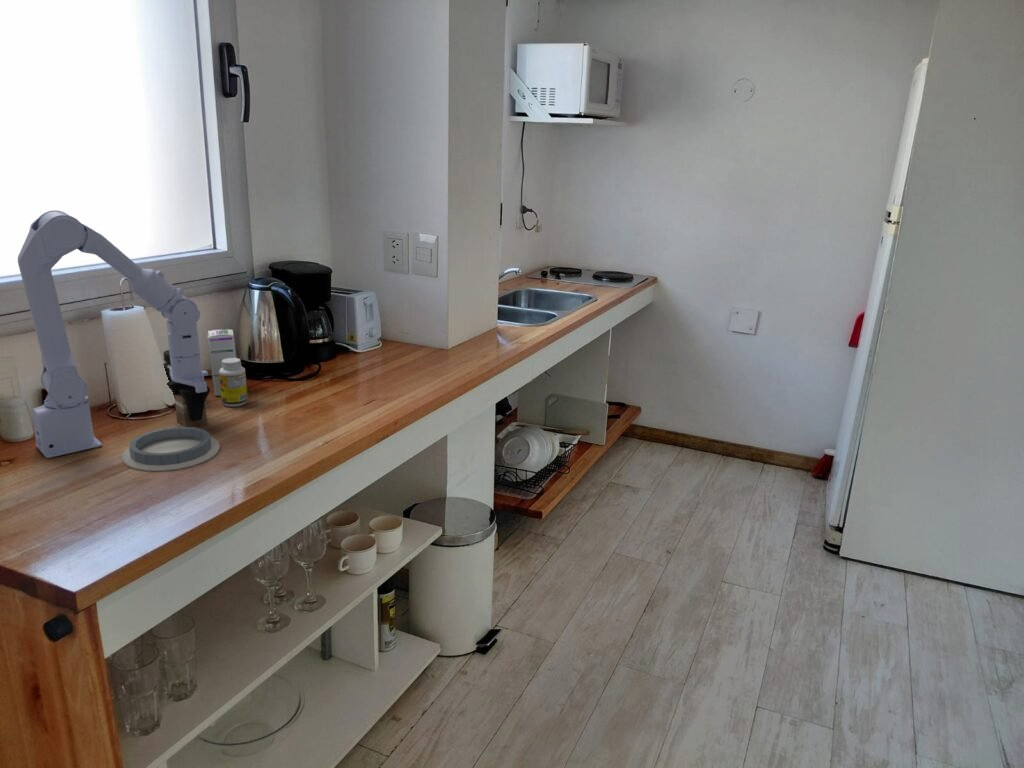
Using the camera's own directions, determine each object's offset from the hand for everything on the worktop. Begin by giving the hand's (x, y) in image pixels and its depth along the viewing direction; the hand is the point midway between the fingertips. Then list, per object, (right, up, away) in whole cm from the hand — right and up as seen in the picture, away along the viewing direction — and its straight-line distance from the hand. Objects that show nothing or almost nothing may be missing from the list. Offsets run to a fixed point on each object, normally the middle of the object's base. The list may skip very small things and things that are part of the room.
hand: (191, 416), depth 159 cm
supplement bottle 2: (+5, +2, +13) cm, 14 cm away
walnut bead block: (0, -1, 0) cm, 1 cm away
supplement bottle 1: (-8, +2, +12) cm, 14 cm away
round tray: (+2, -6, -14) cm, 16 cm away
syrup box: (0, +5, +20) cm, 21 cm away
